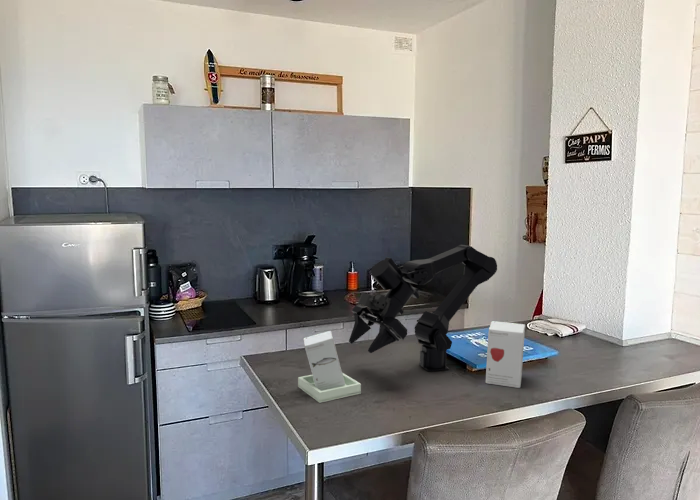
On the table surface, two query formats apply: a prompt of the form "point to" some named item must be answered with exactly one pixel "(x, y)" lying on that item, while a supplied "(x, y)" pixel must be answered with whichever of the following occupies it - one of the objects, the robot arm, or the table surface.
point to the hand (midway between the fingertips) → (359, 347)
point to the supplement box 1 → (324, 361)
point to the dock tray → (326, 395)
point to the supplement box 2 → (505, 354)
